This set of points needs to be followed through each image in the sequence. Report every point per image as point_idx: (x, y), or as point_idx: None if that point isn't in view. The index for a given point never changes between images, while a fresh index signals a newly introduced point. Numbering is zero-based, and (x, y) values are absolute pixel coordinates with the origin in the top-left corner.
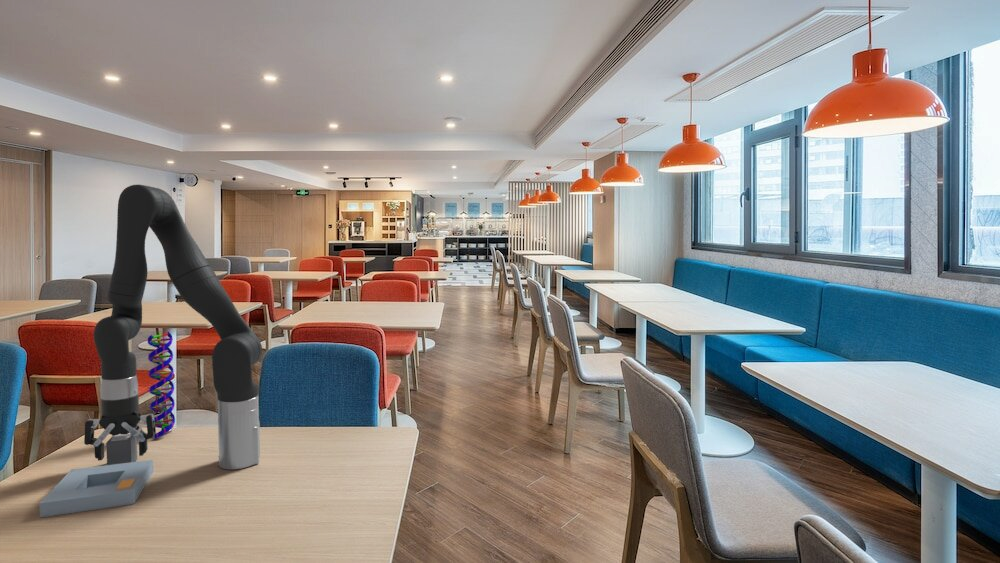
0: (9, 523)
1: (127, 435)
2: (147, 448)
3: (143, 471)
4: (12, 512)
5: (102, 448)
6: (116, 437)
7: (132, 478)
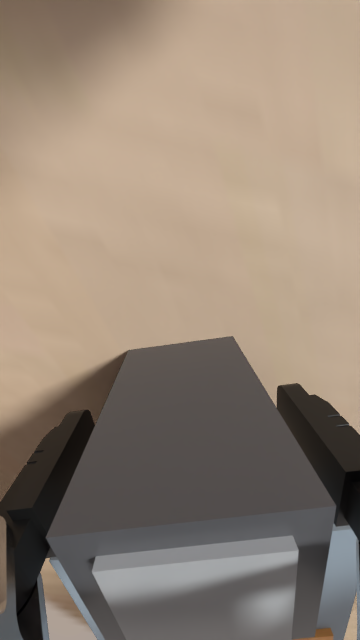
0: (80, 621)
1: (254, 589)
2: (330, 406)
3: (348, 595)
4: (46, 595)
5: (64, 493)
6: (150, 616)
7: (319, 622)
